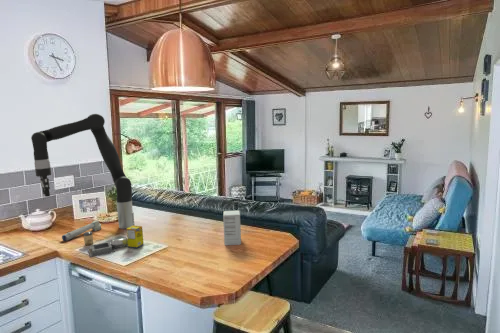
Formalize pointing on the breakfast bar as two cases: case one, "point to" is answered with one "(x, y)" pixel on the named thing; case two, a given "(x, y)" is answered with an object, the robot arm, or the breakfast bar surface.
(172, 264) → the breakfast bar surface
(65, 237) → the grey long rod
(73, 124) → the robot arm
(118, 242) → the grey slotted holder
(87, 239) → the tan grey cylinder
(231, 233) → the supplement box
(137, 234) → the supplement box
